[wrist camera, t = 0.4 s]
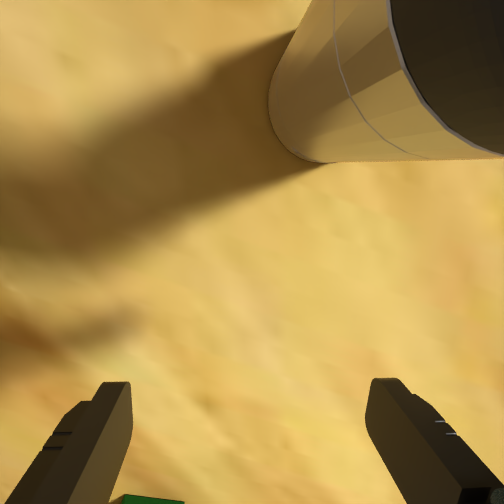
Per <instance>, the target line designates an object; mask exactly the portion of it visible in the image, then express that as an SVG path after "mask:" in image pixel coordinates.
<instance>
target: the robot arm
mask: <svg viewBox="0 0 504 504" xmlns="http://www.w3.org/2000/svg"><path fill="white" fill-rule="evenodd" d="M268 109H269V116H270V120H271V123H272V126H273V129H274V132H275V133H276V135H277V137H278V138H279V140H280V142H281V143H282V144H283V145H284V146H285V147H286V148H287V149H288V150H289V151H290V152H292V153H293V154H295V155H296V156H297V157H299V158H302V159H305V160H307V161H311V162H318V163H338V162H383V161H429V160H470V159H504V0H312V1H311V3H310V5H309V7H308V9H307V11H306V13H305V15H304V17H303V18H302V20H301V22H300V24H299V26H298V28H297V30H296V32H295V34H294V36H293V37H292V39H291V41H290V43H289V44H288V46H287V48H286V50H285V52H284V54H283V56H282V58H281V60H280V62H279V64H278V66H277V68H276V70H275V72H274V74H273V77H272V80H271V84H270V88H269V95H268ZM365 423H366V428H367V431H368V434H369V436H370V438H371V440H372V442H373V444H374V445H375V447H376V449H377V451H378V453H379V454H380V456H381V458H382V460H383V462H384V463H385V465H386V467H387V469H388V471H389V472H390V474H391V476H392V478H393V480H394V481H395V483H396V485H397V487H398V489H399V490H400V492H401V494H402V496H403V498H404V499H405V501H406V503H407V504H504V485H503V484H502V483H501V482H500V480H499V479H498V478H497V477H496V476H495V475H494V474H493V473H492V472H491V471H490V469H489V468H488V467H487V466H486V465H485V464H484V463H483V462H482V461H481V459H480V458H479V457H478V456H477V455H476V454H475V453H474V452H473V451H472V450H471V448H470V447H469V446H468V445H467V444H466V443H465V442H464V441H463V440H462V438H461V437H460V436H457V435H456V432H455V431H454V430H453V428H452V427H451V426H450V425H449V424H448V423H446V422H445V420H444V419H443V417H442V416H441V415H440V414H439V413H438V412H437V411H436V410H435V409H434V407H433V406H432V405H430V404H429V403H427V402H426V401H424V400H423V399H422V398H420V397H419V396H417V395H416V394H412V393H411V392H410V391H409V390H408V389H407V388H406V387H405V385H404V384H403V383H402V382H401V381H400V380H399V379H397V378H374V379H373V380H372V382H371V386H370V391H369V397H368V402H367V408H366V413H365ZM132 429H133V414H132V398H131V385H130V383H129V382H103V383H102V384H101V385H100V387H99V389H98V390H97V392H96V394H95V395H94V397H93V399H92V400H91V401H81V402H79V403H78V404H77V405H76V406H75V407H74V408H72V409H71V410H70V411H69V412H68V413H66V414H65V415H64V417H63V418H62V419H61V421H60V422H59V424H58V425H57V427H56V428H55V430H54V431H53V434H52V436H50V437H49V439H48V440H47V442H46V443H45V445H44V446H43V449H42V451H40V452H39V453H38V455H37V456H36V458H35V459H34V461H33V462H32V464H31V465H30V467H29V468H28V470H27V471H26V473H25V474H24V476H23V477H22V478H21V480H20V481H19V483H18V484H17V486H16V487H15V489H14V490H13V492H12V493H11V495H10V496H9V498H8V499H7V501H6V502H5V504H108V502H109V499H110V496H111V494H112V491H113V488H114V485H115V483H116V480H117V477H118V474H119V471H120V469H121V466H122V463H123V460H124V458H125V455H126V452H127V449H128V447H129V444H130V440H131V435H132Z"/></svg>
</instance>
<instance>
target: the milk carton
mask: <svg viewBox="0 0 504 504" xmlns="http://www.w3.org/2000/svg"><path fill="white" fill-rule="evenodd" d="M184 503H185V502H180V501H173V500H165V499H157V498H149V497H141V496H133V495H124V498H123V500H122V503H121V504H184Z"/></svg>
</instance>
